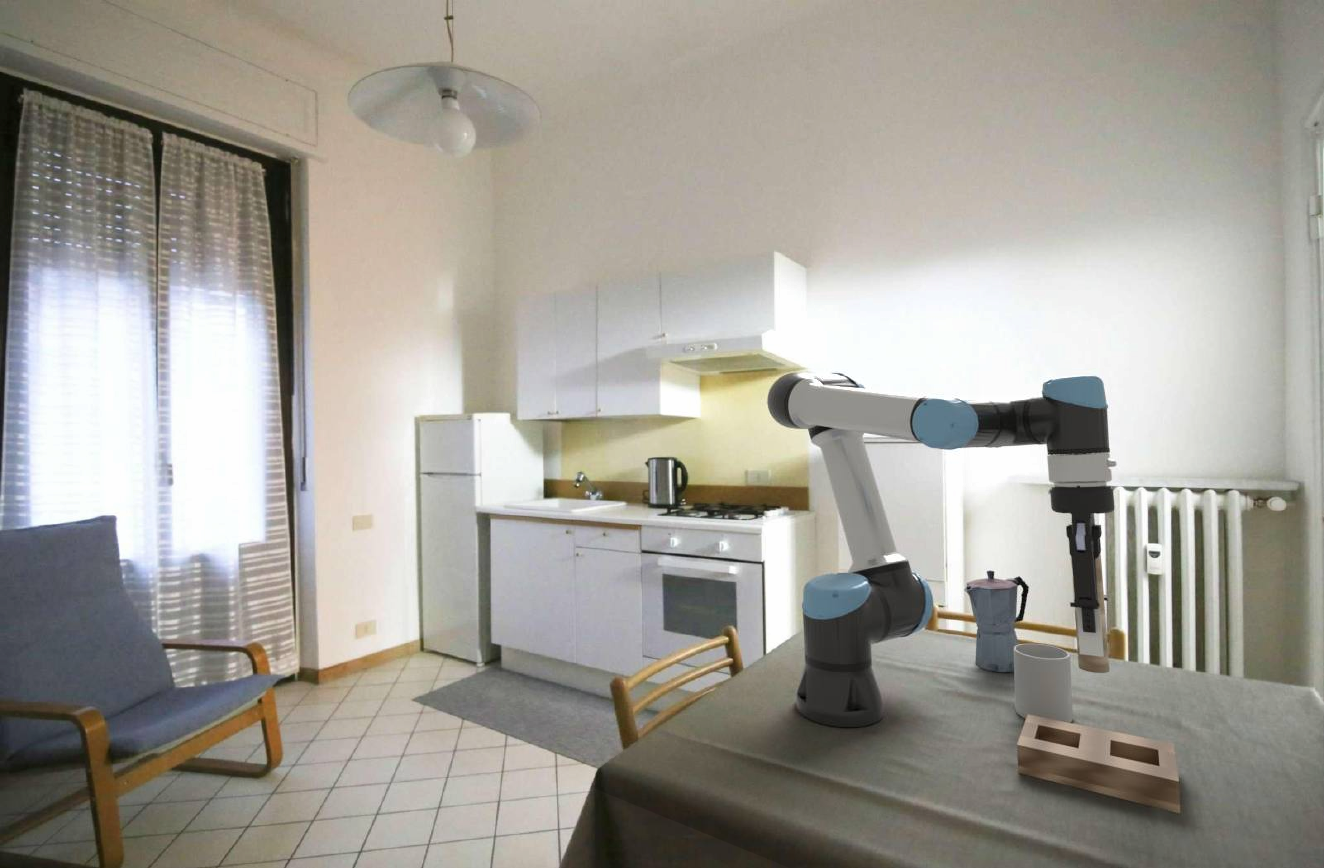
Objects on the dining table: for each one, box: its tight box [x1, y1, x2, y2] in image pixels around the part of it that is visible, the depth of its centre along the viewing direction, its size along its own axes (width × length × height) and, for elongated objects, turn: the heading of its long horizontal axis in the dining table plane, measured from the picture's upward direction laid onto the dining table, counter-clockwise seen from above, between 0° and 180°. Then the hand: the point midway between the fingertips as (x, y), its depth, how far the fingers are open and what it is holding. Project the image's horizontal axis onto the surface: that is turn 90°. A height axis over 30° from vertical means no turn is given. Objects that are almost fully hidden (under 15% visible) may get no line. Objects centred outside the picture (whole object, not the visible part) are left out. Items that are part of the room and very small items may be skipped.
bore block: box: [1016, 714, 1181, 814], centre depth 90 cm, size 18×12×4 cm, turn 54°
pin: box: [1070, 554, 1110, 674], centre depth 89 cm, size 4×4×16 cm
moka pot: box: [964, 570, 1030, 673], centre depth 133 cm, size 10×15×20 cm, turn 107°
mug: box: [1013, 643, 1074, 723], centre depth 111 cm, size 12×8×11 cm
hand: (1092, 650), depth 89 cm, fingers closed on pin, 3 cm apart
